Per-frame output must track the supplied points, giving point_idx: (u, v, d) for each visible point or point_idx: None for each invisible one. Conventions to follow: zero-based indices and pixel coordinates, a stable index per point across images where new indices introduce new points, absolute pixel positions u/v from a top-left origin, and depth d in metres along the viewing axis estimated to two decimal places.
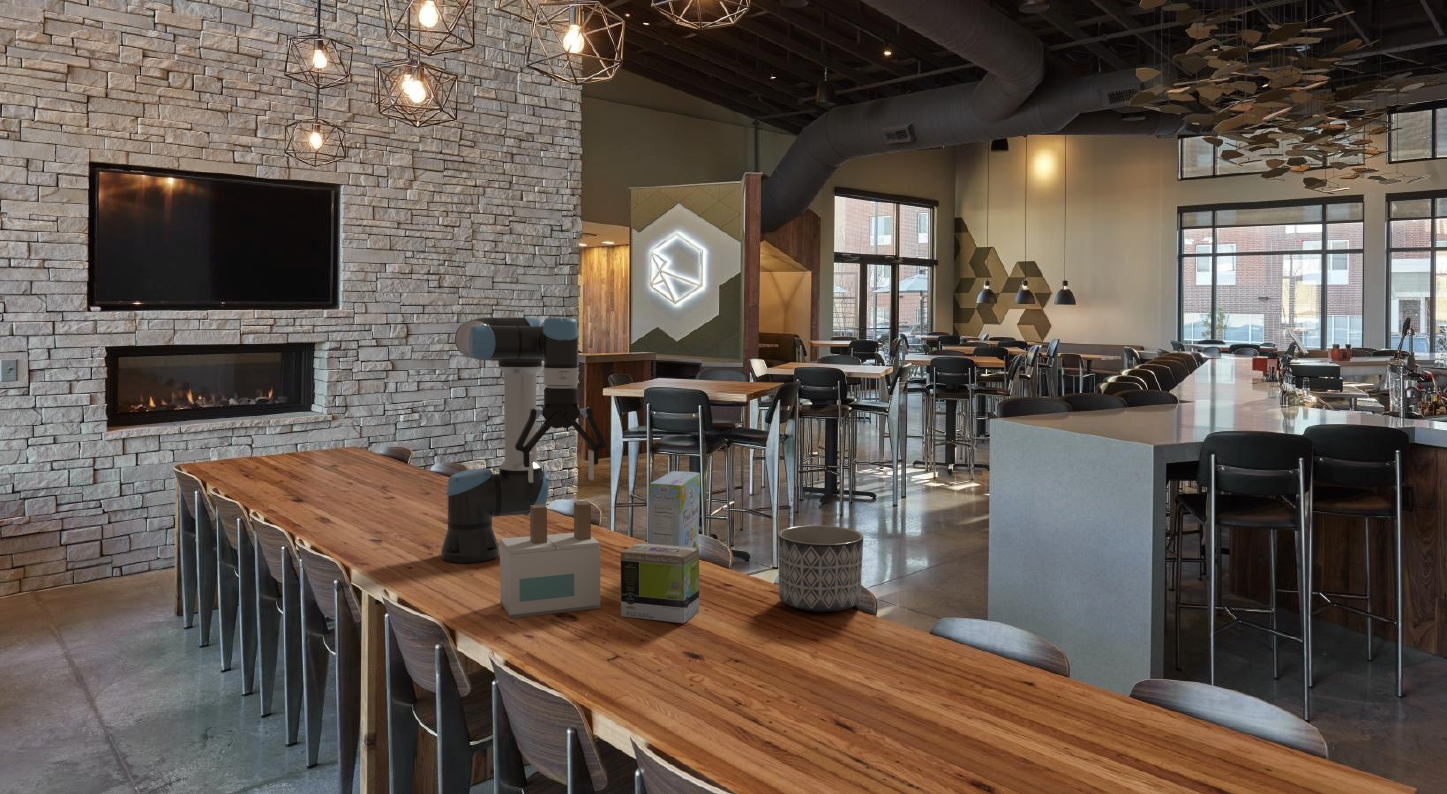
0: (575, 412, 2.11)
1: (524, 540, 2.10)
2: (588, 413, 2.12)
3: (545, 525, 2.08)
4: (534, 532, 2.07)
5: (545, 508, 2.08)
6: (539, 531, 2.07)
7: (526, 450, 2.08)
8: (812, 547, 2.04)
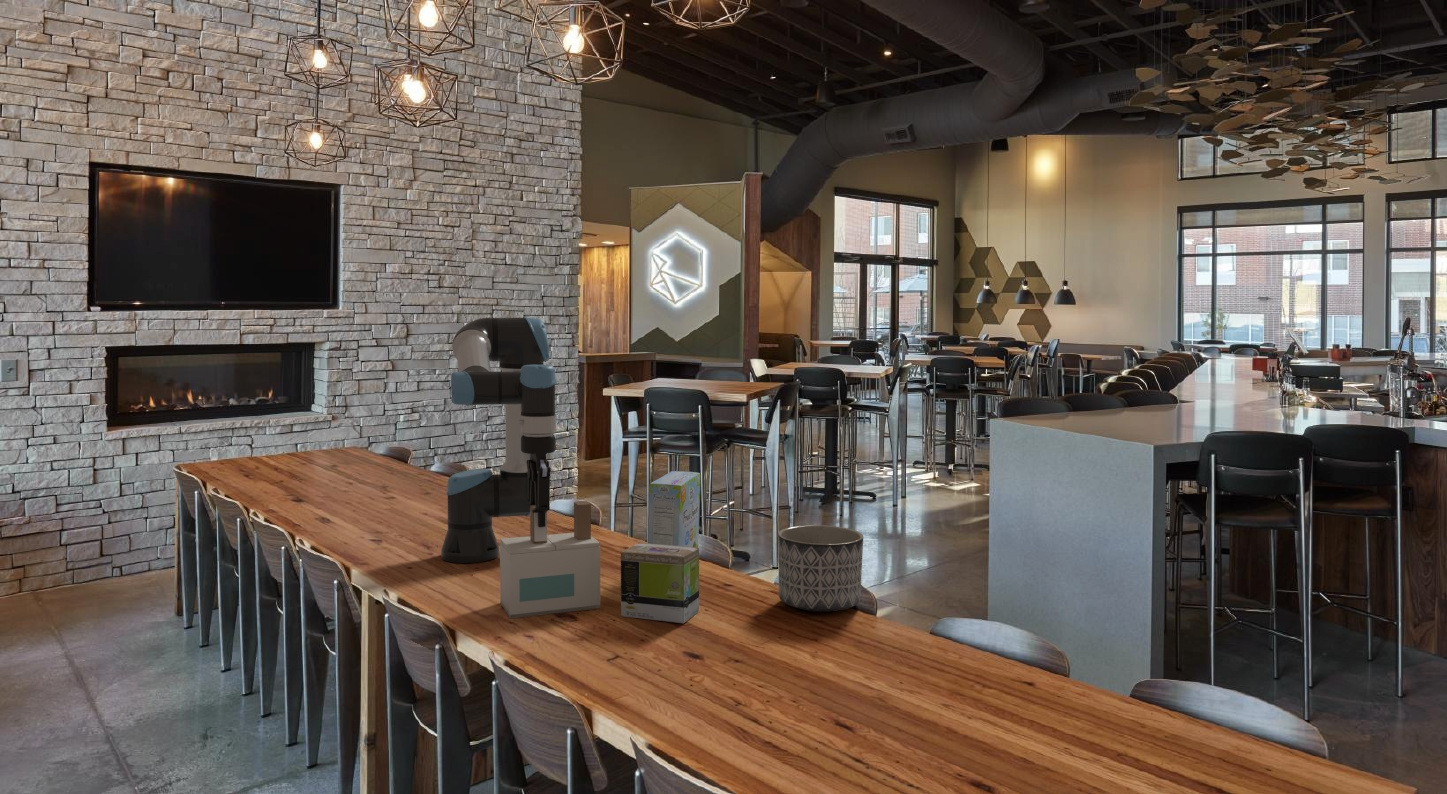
0: (536, 462, 2.05)
1: (524, 540, 2.10)
2: (538, 472, 2.02)
3: None
4: None
5: None
6: None
7: (529, 504, 2.11)
8: (812, 547, 2.04)
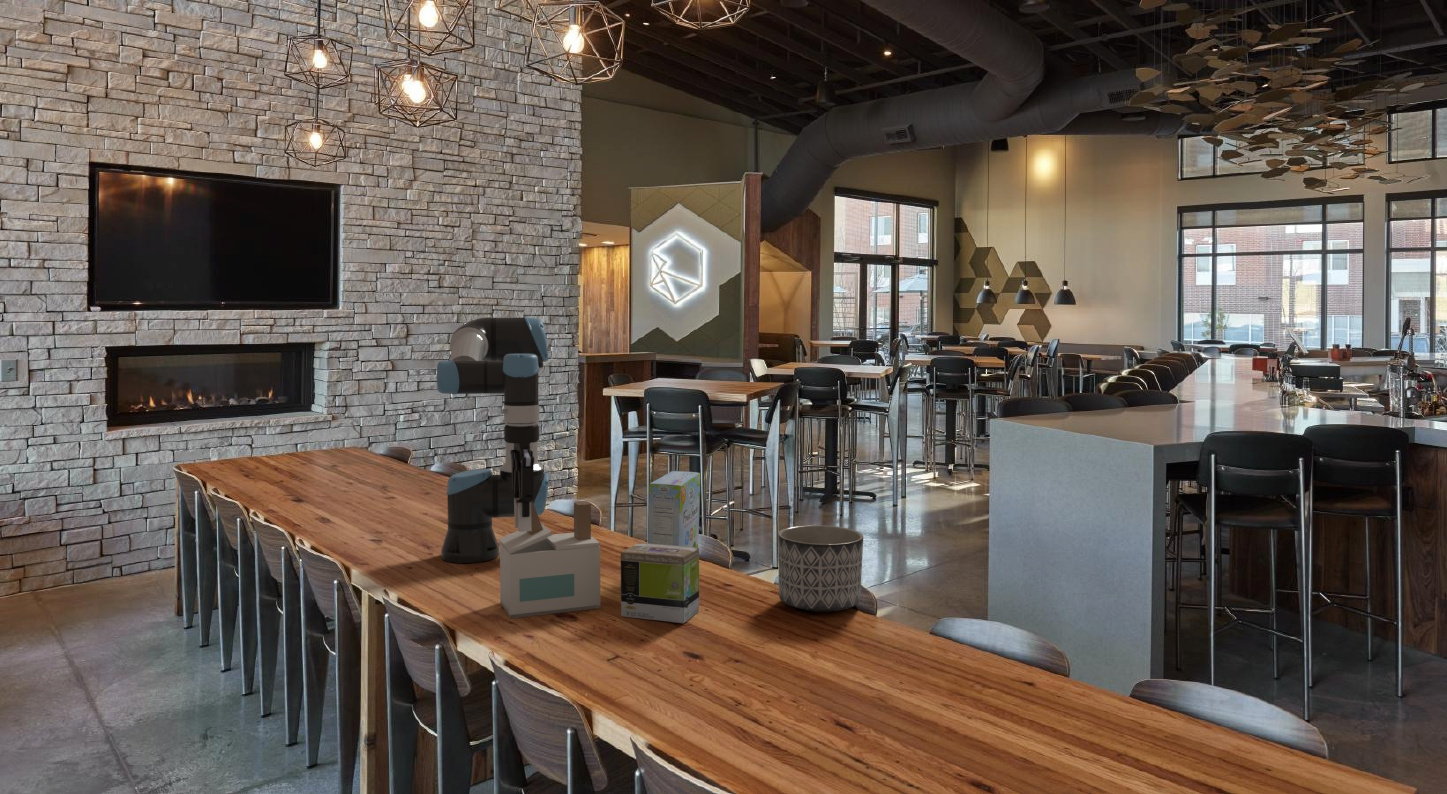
0: (519, 452, 2.03)
1: (521, 533, 2.10)
2: (521, 461, 2.01)
3: (535, 514, 2.07)
4: None
5: None
6: (531, 521, 2.07)
7: (513, 495, 2.09)
8: (812, 547, 2.04)
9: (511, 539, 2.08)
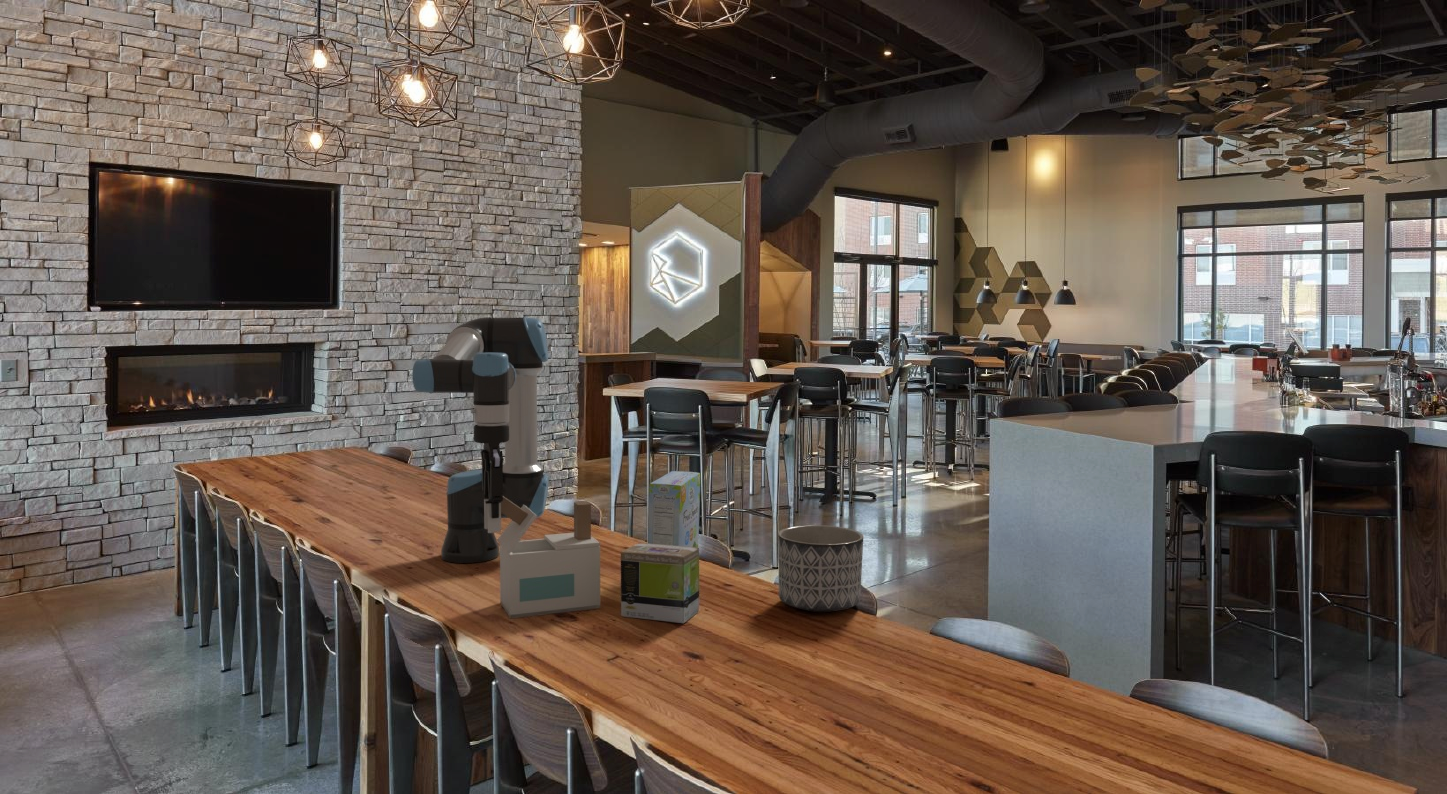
0: (489, 452, 2.00)
1: (512, 526, 2.09)
2: (490, 461, 1.98)
3: (512, 505, 2.05)
4: (511, 518, 2.05)
5: None
6: (513, 513, 2.05)
7: (483, 495, 2.07)
8: (812, 547, 2.04)
9: (506, 536, 2.08)
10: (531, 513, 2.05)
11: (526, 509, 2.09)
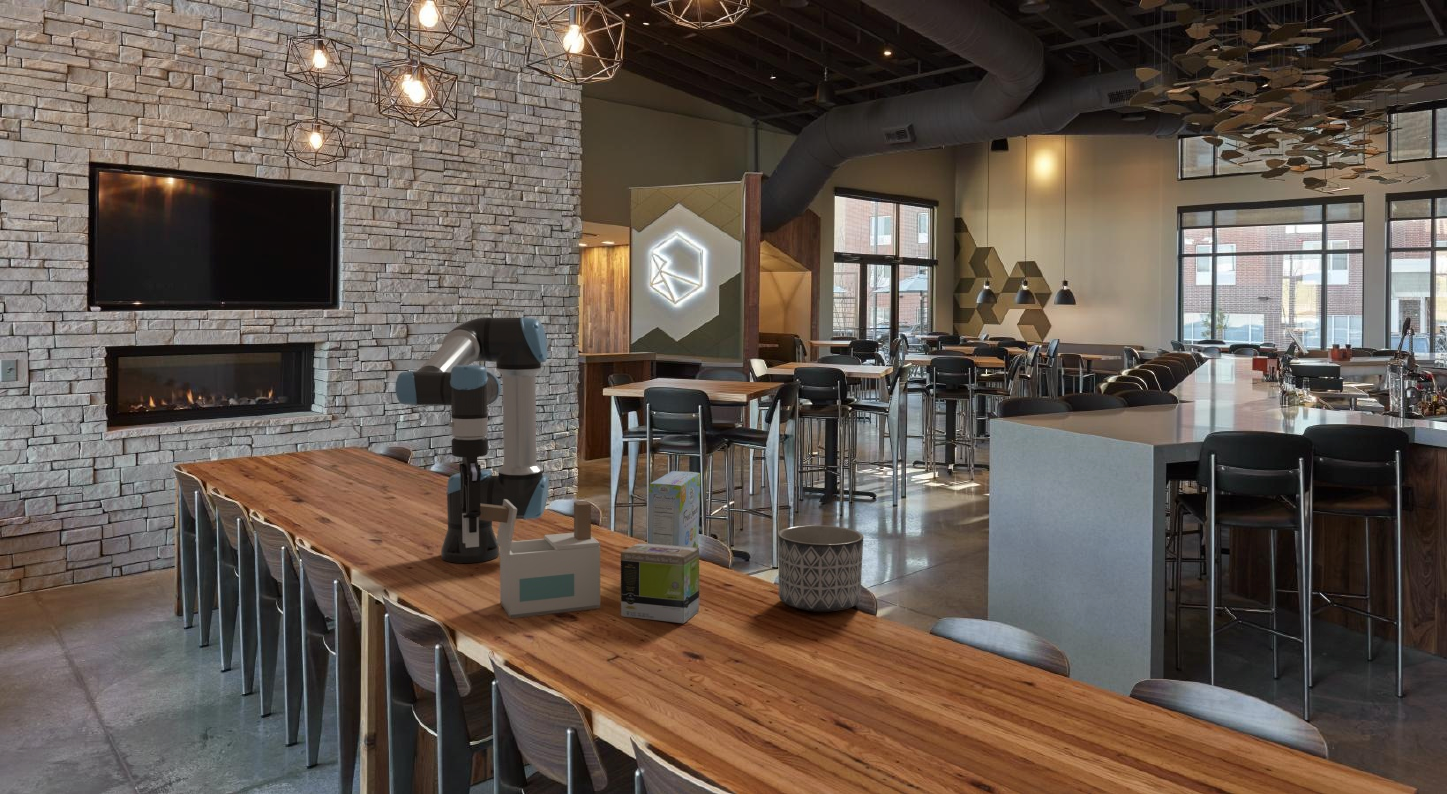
0: (466, 466, 1.99)
1: (502, 524, 2.08)
2: (468, 475, 1.97)
3: (491, 508, 2.03)
4: (495, 520, 2.03)
5: None
6: (495, 515, 2.03)
7: (462, 509, 2.05)
8: (812, 547, 2.04)
9: (501, 537, 2.07)
10: (511, 508, 2.03)
11: (507, 504, 2.07)
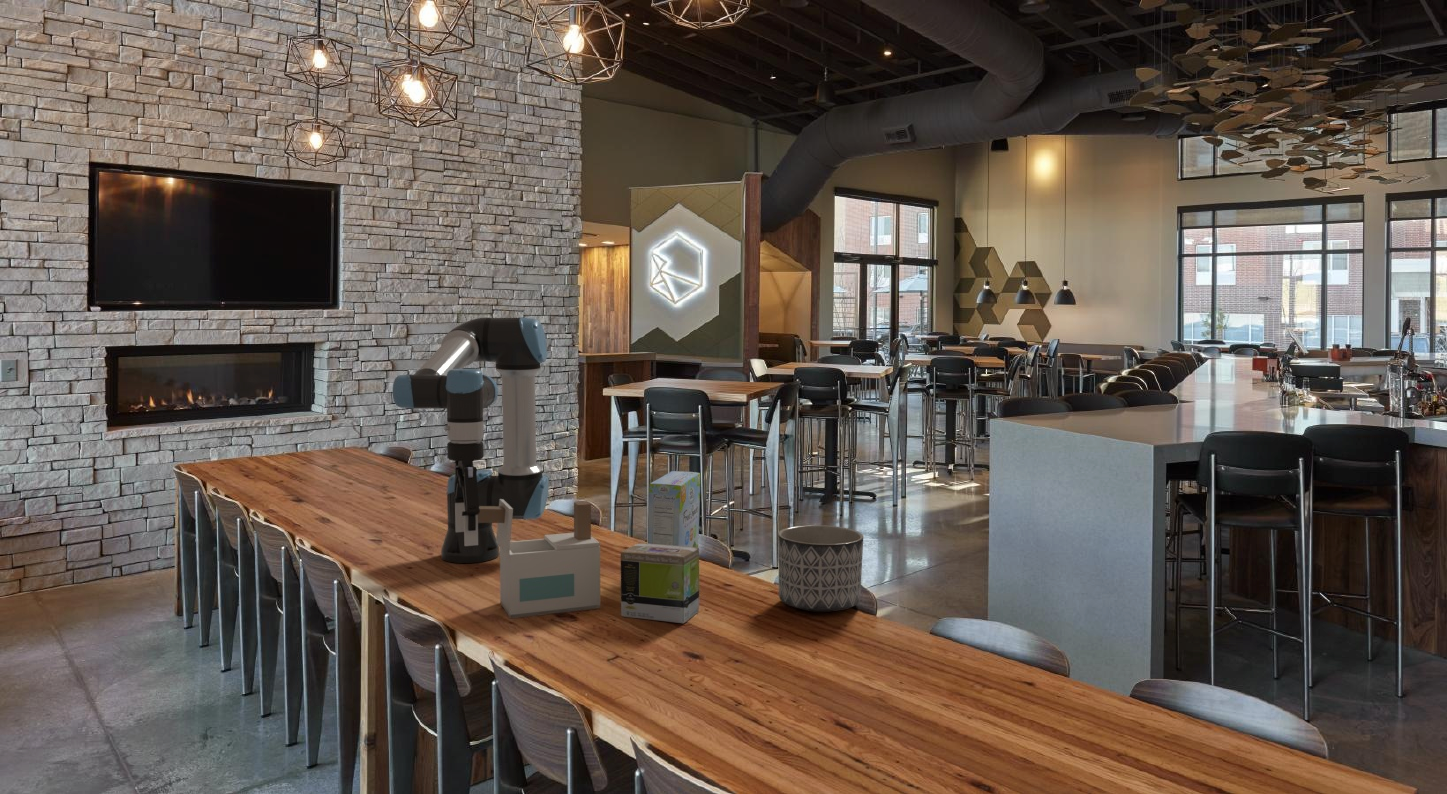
0: (462, 469, 1.98)
1: (500, 524, 2.08)
2: (464, 473, 1.96)
3: (487, 510, 2.02)
4: (492, 521, 2.03)
5: None
6: (491, 516, 2.03)
7: (454, 499, 2.09)
8: (812, 547, 2.04)
9: (500, 537, 2.07)
10: (507, 508, 2.02)
11: (502, 504, 2.07)
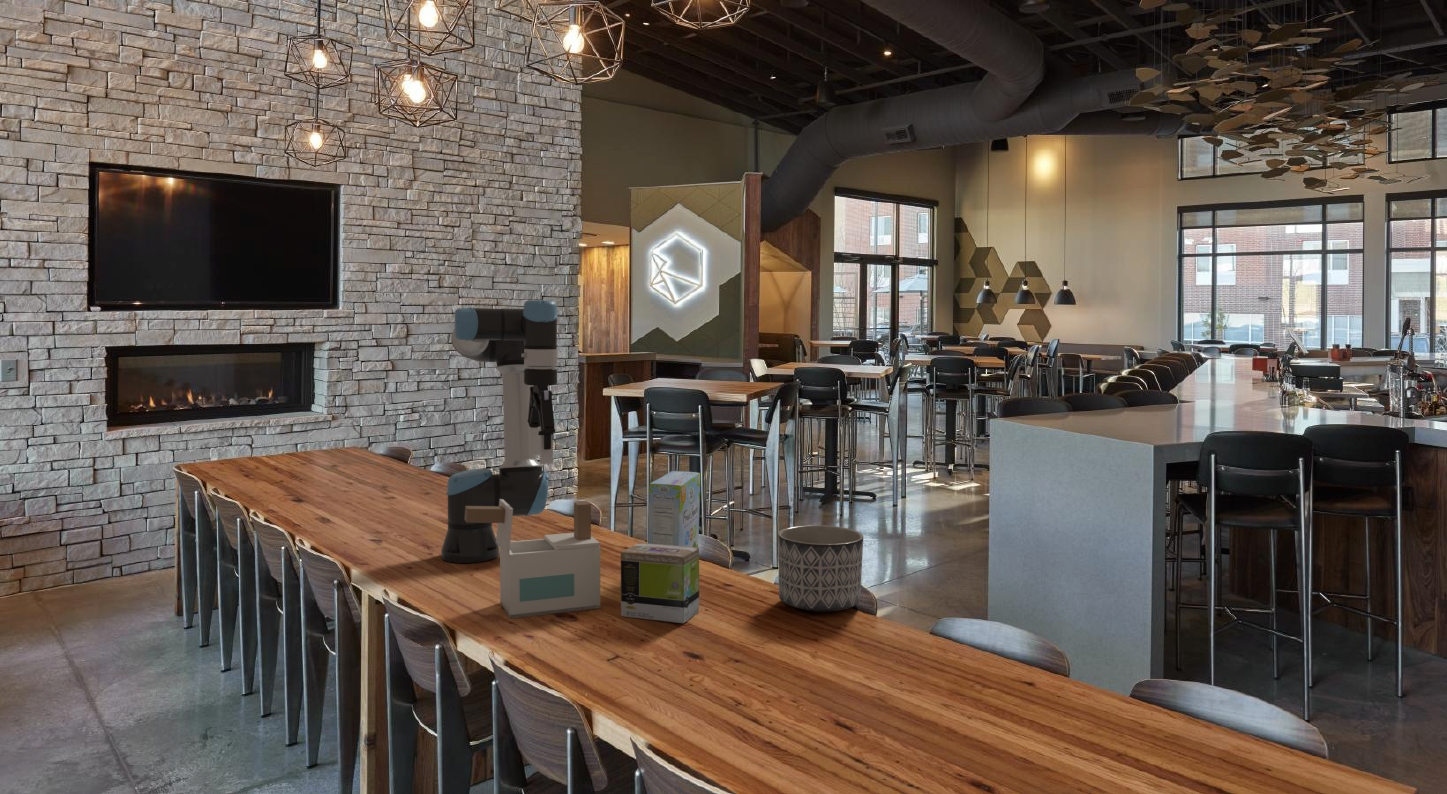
0: (538, 393, 2.13)
1: (500, 524, 2.08)
2: (540, 396, 2.10)
3: (487, 510, 2.02)
4: (492, 521, 2.03)
5: (468, 510, 2.01)
6: (491, 516, 2.03)
7: (529, 424, 2.24)
8: (812, 547, 2.04)
9: (500, 537, 2.07)
10: (507, 508, 2.02)
11: (502, 504, 2.07)
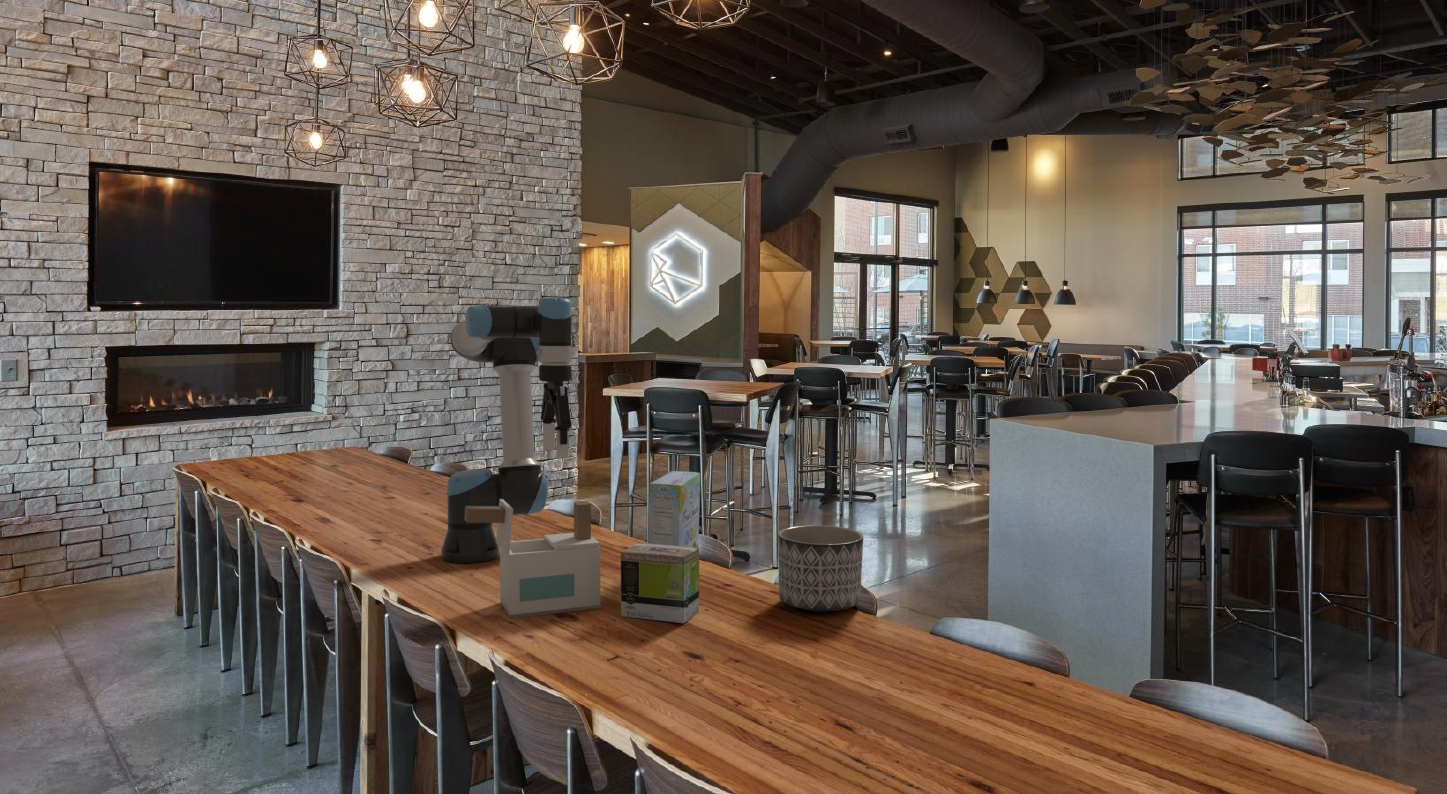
0: (553, 389, 2.16)
1: (500, 524, 2.08)
2: (556, 392, 2.13)
3: (487, 510, 2.02)
4: (492, 521, 2.03)
5: (468, 510, 2.01)
6: (491, 516, 2.03)
7: (542, 420, 2.27)
8: (812, 547, 2.04)
9: (500, 537, 2.07)
10: (507, 508, 2.02)
11: (502, 504, 2.07)
